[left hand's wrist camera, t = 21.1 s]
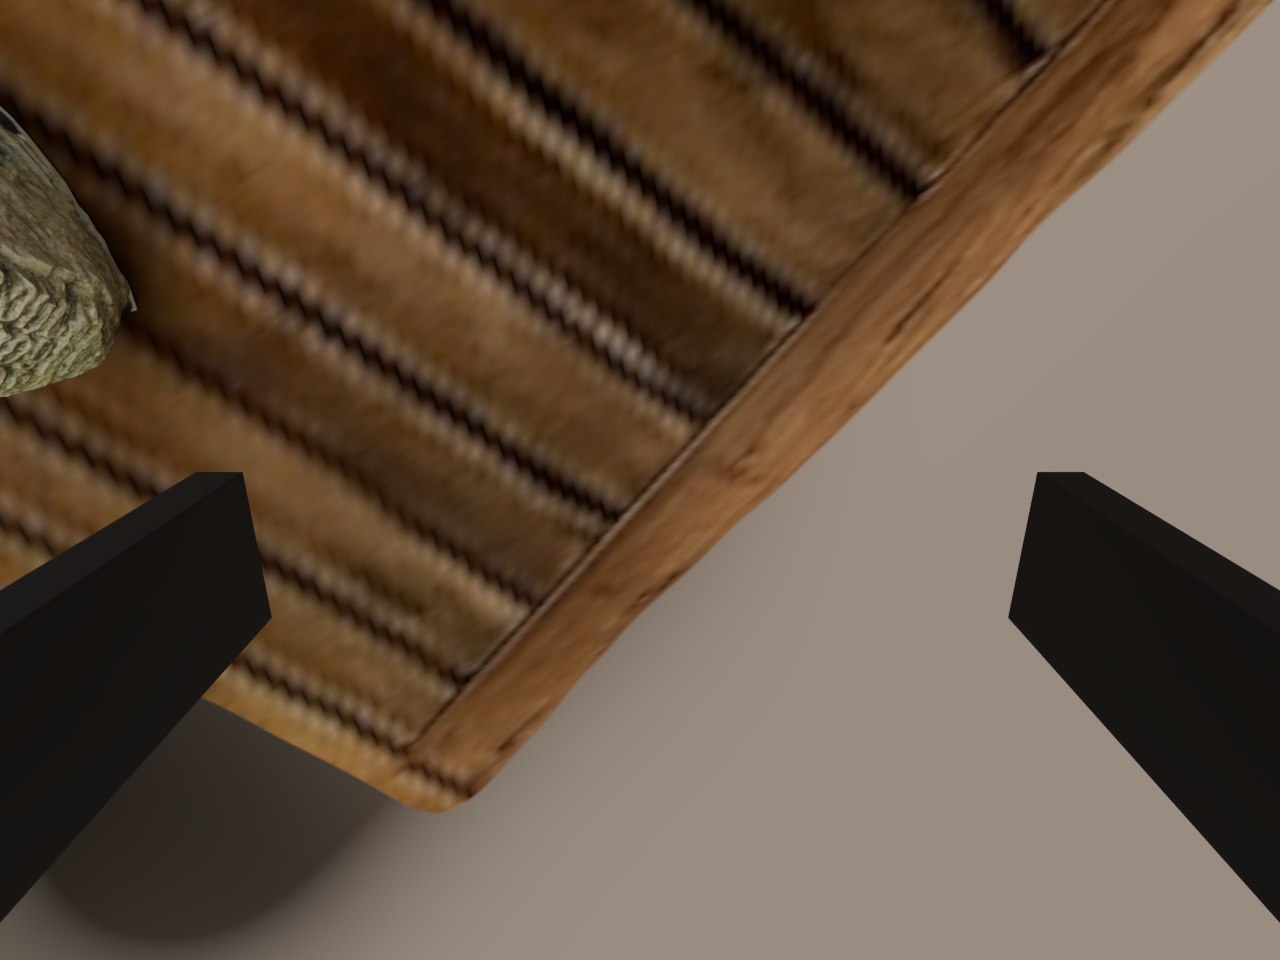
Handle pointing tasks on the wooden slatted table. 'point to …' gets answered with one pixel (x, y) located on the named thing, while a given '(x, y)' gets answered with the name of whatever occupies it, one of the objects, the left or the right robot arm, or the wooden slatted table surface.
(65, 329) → the fossil
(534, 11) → the wooden slatted table surface
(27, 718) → the left robot arm
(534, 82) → the wooden slatted table surface
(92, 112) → the wooden slatted table surface
